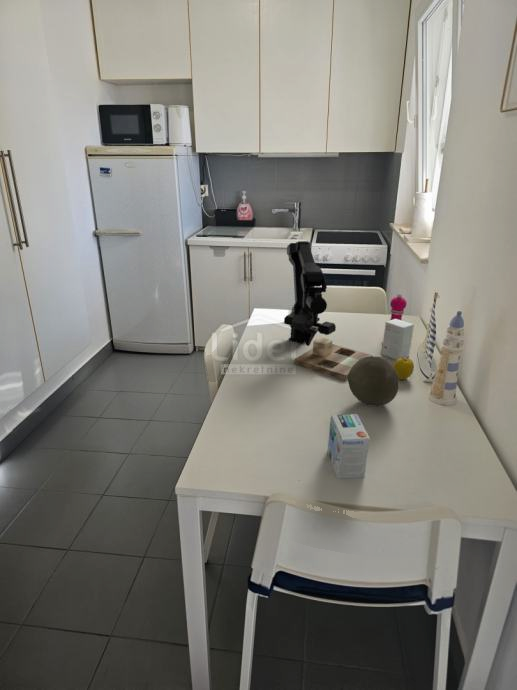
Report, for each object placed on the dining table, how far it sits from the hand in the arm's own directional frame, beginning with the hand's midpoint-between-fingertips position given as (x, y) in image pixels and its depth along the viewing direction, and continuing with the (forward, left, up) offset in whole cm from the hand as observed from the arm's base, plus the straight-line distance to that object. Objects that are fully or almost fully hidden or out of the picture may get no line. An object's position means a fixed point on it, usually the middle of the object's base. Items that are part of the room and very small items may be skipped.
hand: (307, 345), depth 166 cm
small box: (+26, +20, -4) cm, 33 cm away
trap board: (+11, 0, -4) cm, 12 cm away
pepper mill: (+20, +33, -4) cm, 39 cm away
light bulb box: (+41, -50, -4) cm, 65 cm away
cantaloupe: (+34, -20, -4) cm, 40 cm away
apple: (+35, +3, -4) cm, 35 cm away
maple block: (+6, 0, -2) cm, 6 cm away
